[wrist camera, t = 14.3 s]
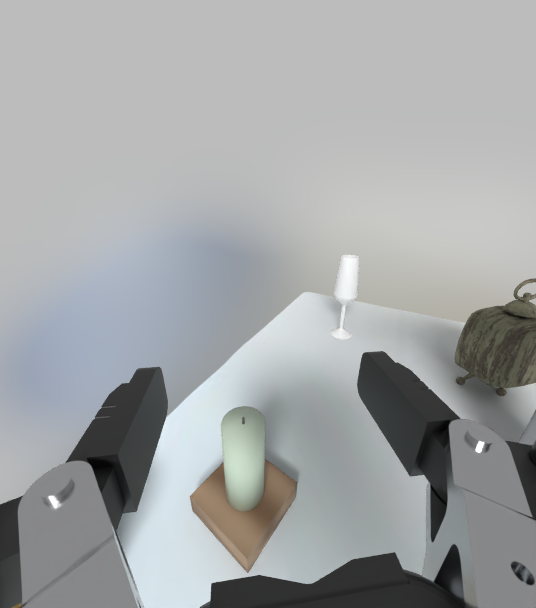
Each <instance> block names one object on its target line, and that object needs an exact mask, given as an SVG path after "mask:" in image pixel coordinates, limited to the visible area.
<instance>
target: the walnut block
mask: <svg viewBox="0 0 536 608" xmlns="http://www.w3.org/2000/svg"><path fill="white" fill-rule="evenodd" d="M296 487H297V482H295V481H294V480H293V479H291V478H290V477H289V476H287V475H286V474H285V473H283V472H282V471H281V470H279V469H278V468H277V467H275V466H274V465H273V464H271V463H270V462H269V461H267V460H266V459H265V463H264V494H263V497H262V500H261V501H260V503H259V504H258V505H257V506H256V507H255V508H254V509H252V510H249V511H238V510H236V509H234V508H233V507H231V505H230V504H229V503H228V501H227V498H226V488H225V474H224V462H223V463H222V464H221V465H220V466H219V467H218V468H217V469H216V470H215V471H214V472H213V473H212V474H211V475H210V476H209V477H208V478H207V479H206V480H205V481H204V483H203V484H202V485H201V486H200V487H199V488H198V489H197V490H196V491H195V492H194V493H193V494H192V495H191V496H190V500H191V505H192V510H193V512H194V513H195V514H196V515H197V516H198V517H199V518H200V520H201V521H202V522H203V523H204V524H205V525H206V526H207V527H208V529H209V530H210V531H211V532H212V533H213V534H214V535H215V537H216V538H217V539H218V540H219V541H220V542H221V543H222V544H223V546H224V547H225V548H226V549H227V550H228V551H229V552H230V553H231V555H232V556H233V557H234V558H235V559H236V560H237V561H238V563H239V564H240V565H241V566H242V567H243V568H244V569H245V570H246V572H247V573H248V572H249V571H250V569H251V567H252V566H253V564H254V563H255V561H256V559H257V558H258V556H259V555H260V553H261V551H262V550H263V548H264V547H265V545H266V543H267V542H268V540H269V539H270V537H271V535H272V534H273V532H274V531H275V529H276V527H277V526H278V524H279V523H280V521H281V520H282V518H283V516H284V515H285V513H286V512H287V510H288V508H289V507H290V505H291V504H292V502H293V500H294V499H295V497H296Z"/></svg>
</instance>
